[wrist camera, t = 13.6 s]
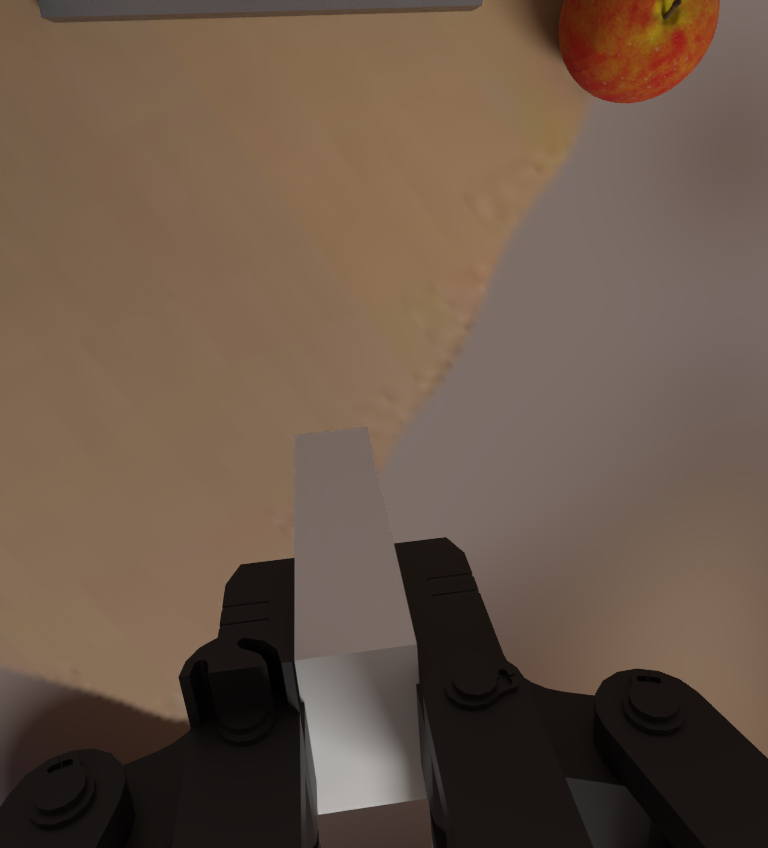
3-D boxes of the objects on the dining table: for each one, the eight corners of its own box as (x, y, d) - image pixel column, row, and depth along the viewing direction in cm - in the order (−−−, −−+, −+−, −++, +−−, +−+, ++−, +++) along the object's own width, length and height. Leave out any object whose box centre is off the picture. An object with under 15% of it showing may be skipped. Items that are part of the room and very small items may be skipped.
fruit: (693, 42, 37) (791, 26, 30) (583, 132, 38) (652, 137, 31) (628, -86, 34) (719, -139, 27) (513, 15, 35) (570, -9, 28)
